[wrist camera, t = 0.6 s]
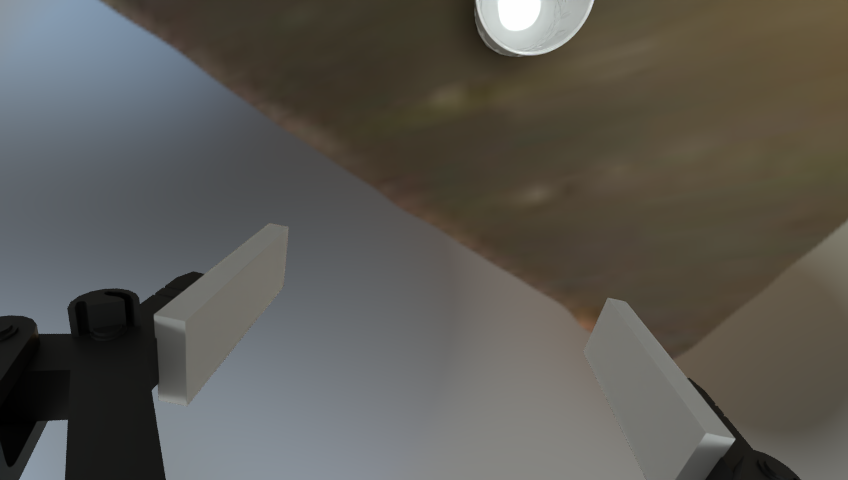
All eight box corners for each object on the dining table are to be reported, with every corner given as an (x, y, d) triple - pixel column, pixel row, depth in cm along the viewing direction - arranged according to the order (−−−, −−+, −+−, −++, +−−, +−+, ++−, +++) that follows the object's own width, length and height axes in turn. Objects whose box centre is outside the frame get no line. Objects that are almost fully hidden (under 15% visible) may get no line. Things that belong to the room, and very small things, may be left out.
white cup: (465, 61, 37) (470, 52, 28) (472, -40, 34) (481, -86, 25) (550, 64, 37) (585, 57, 27) (565, -37, 34) (609, -83, 24)
